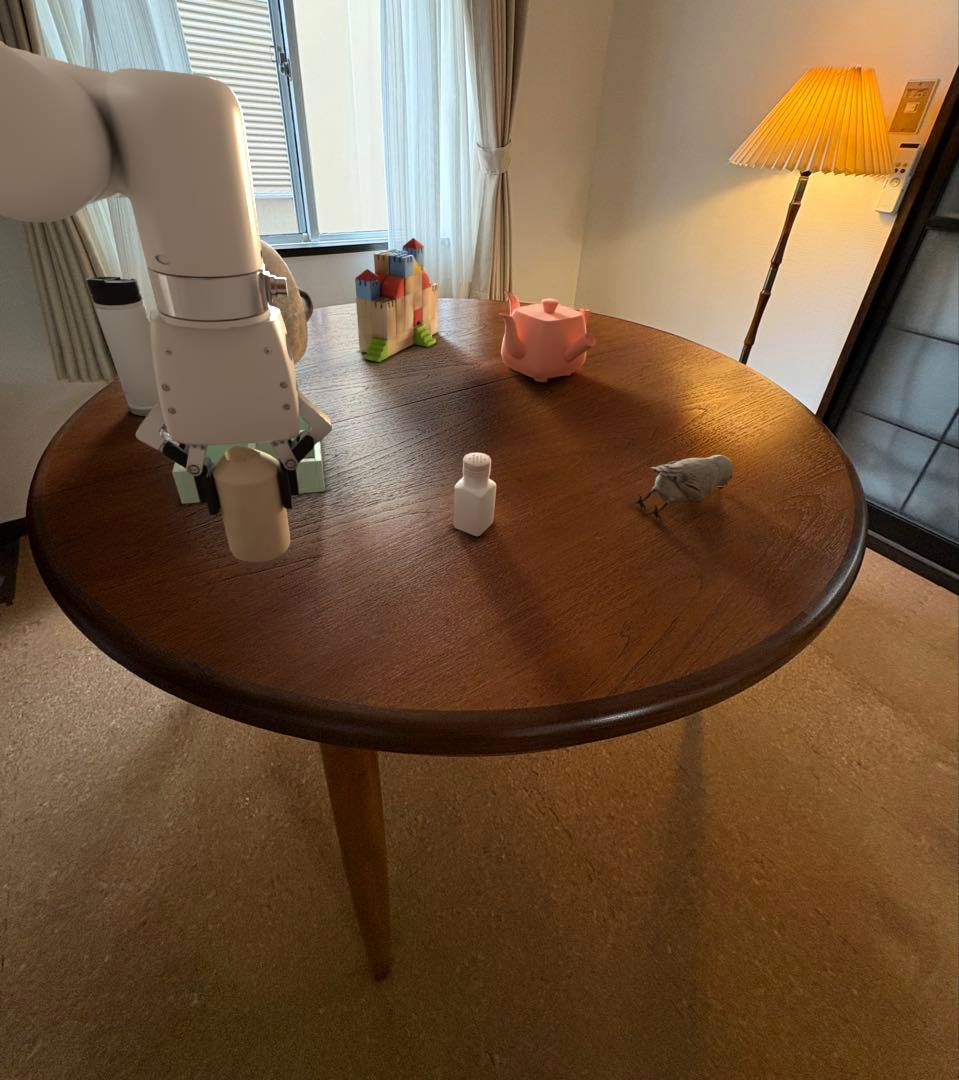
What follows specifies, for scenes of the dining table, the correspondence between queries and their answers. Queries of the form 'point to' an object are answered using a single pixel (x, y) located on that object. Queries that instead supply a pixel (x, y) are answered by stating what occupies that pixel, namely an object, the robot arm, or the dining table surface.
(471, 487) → the salt shaker
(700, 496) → the decorative bird
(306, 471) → the grid
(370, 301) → the block set
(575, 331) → the teapot
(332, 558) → the dining table surface
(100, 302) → the travel mug
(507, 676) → the dining table surface
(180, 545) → the dining table surface
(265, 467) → the candle
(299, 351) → the jug
